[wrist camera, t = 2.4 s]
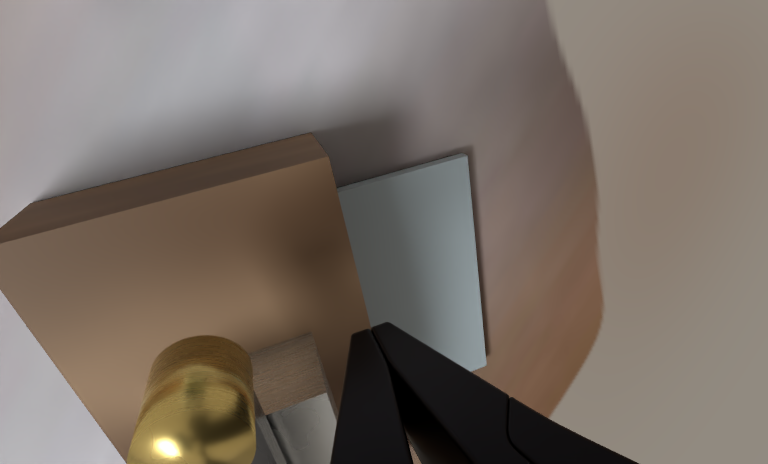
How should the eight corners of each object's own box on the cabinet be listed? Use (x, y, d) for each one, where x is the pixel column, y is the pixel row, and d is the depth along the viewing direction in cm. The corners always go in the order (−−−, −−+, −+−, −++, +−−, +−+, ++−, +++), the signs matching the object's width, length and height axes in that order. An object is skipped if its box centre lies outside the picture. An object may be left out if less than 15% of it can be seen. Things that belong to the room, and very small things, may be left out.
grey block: (353, 458, 16) (372, 527, 13) (228, 509, 15) (226, 591, 13) (311, 331, 13) (326, 392, 11) (153, 385, 12) (135, 463, 10)
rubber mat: (482, 359, 20) (486, 365, 20) (384, 397, 19) (387, 403, 19) (462, 153, 15) (467, 155, 15) (332, 189, 14) (334, 193, 14)
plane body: (395, 456, 21) (417, 516, 18) (228, 524, 19) (226, 601, 17) (311, 132, 13) (328, 156, 11) (30, 203, 12) (-29, 251, 9)
